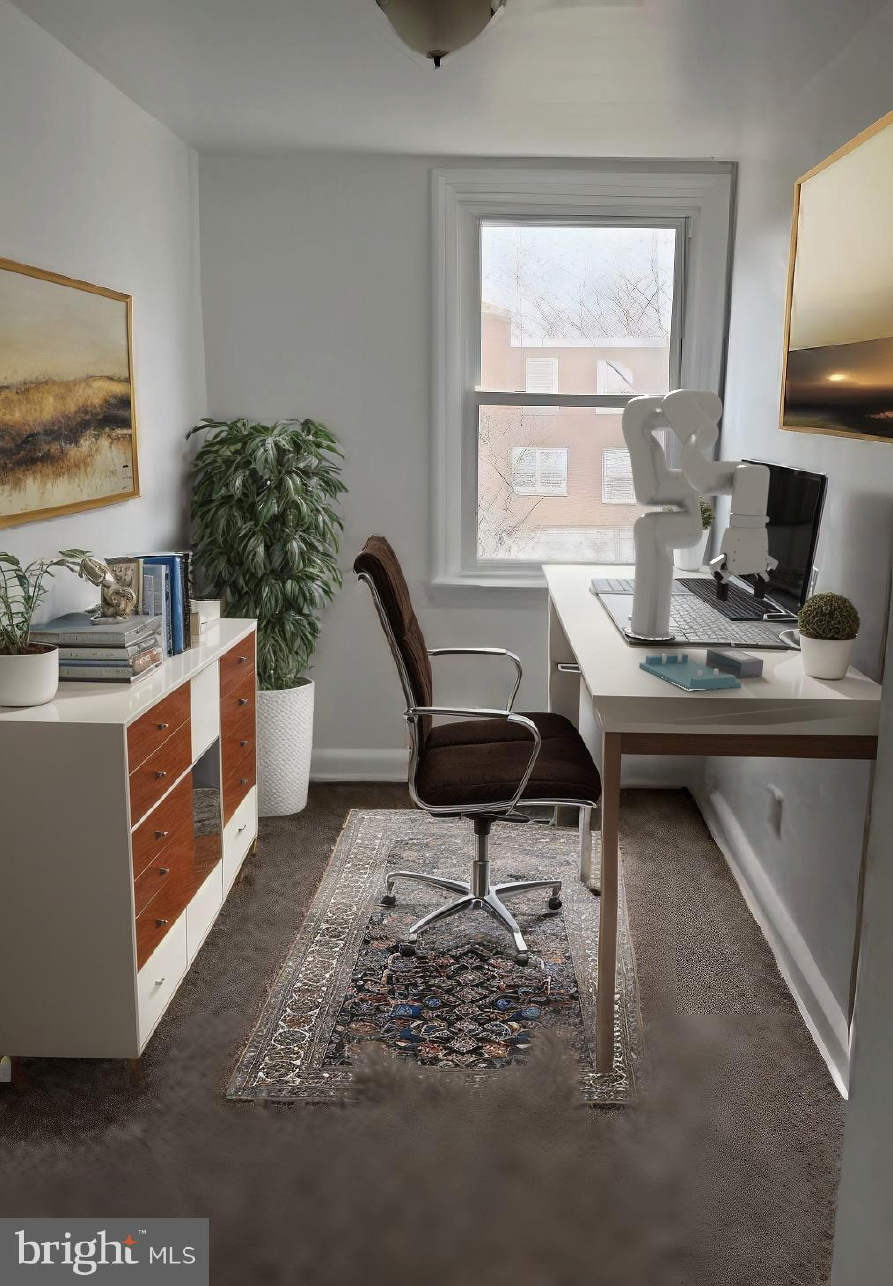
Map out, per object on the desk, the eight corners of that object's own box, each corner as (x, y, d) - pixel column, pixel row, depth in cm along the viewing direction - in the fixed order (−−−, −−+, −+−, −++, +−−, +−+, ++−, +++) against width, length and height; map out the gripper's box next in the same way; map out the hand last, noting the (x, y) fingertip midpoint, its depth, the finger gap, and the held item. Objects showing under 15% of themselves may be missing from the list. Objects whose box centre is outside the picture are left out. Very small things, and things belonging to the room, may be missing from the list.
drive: (705, 666, 238) (707, 648, 237) (726, 664, 241) (728, 646, 240) (739, 680, 228) (741, 662, 227) (761, 677, 230) (763, 659, 229)
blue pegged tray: (639, 667, 235) (640, 652, 234) (689, 663, 239) (690, 648, 238) (688, 691, 217) (689, 675, 216) (740, 687, 221) (742, 671, 220)
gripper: (769, 519, 232) (762, 594, 236) (703, 520, 227) (697, 597, 231) (791, 523, 225) (783, 600, 229) (723, 525, 220) (716, 604, 224)
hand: (740, 599), depth 230 cm, fingers open, 9 cm apart
